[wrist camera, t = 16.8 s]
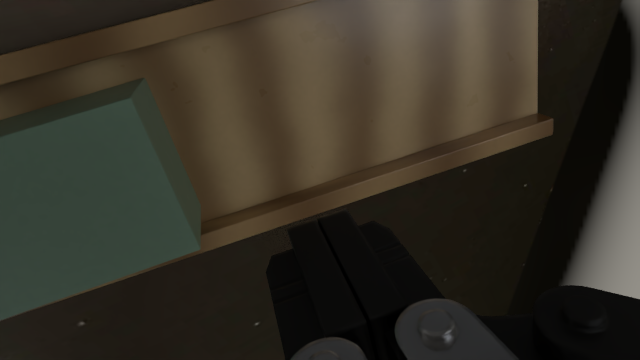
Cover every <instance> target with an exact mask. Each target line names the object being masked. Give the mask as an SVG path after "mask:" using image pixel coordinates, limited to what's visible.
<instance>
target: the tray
mask: <svg viewBox="0 0 640 360" xmlns="http://www.w3.org/2000/svg"><path fill="white" fill-rule="evenodd" d="M141 78H145V79H146V81H147V83H148V86H149V88H150V90H151V92H152V95H153V97H154V99H155V102H156V104H157V106H158V108H159V111H160V113H161V115H162V118H163V120H164V122H165V124H166V127H167V129H168V131H169V134H170V136H171V138H172V140H173V143H174V145H175V147H176V150H177V152H178V154H179V156H180V159H181V161H182V163H183V166H184V168H185V170H186V172H187V175H188V177H189V179H190V182H191V184H192V186H193V188H194V191H195V193H196V195H197V198H198V200H199V202H200V204H201V249H200V250H198V251H195V252H192V253H189V254H186V255H184V256H181V257H178V258H175V259H172V260H170V261H167V262H164V263H161V264H158V265H155V266H153V267H150V268H147V269H144V270H141V271H138V272H136V273H133V274H130V275H127V276H124V277H121V278H119V279H116V280H113V281H110V282H107V283H104V284H102V285H99V286H96V287H93V288H90V289H88V290H85V291H82V292H79V293H76V294H73V295H71V296H68V297H65V298H62V299H59V300H56V301H54V302H51V303H48V304H45V305H42V306H39V307H37V308H40V307H43V306H46V305H49V304H52V303H55V302H58V301H61V300H64V299H67V298H70V297H73V296H76V295H79V294H82V293H85V292H88V291H91V290H94V289H96V288H99V287H102V286H105V285H108V284H111V283H114V282H117V281H120V280H123V279H126V278H129V277H132V276H135V275H138V274H141V273H144V272H147V271H150V270H153V269H156V268H159V267H162V266H165V265H168V264H171V263H173V262H176V261H179V260H182V259H185V258H188V257H191V256H194V255H197V254H200V253H203V252H206V251H209V250H212V249H215V248H218V247H221V246H224V245H227V244H230V243H233V242H236V241H239V240H242V239H245V238H248V237H251V236H253V235H256V234H259V233H262V232H265V231H268V230H271V229H274V228H277V227H280V226H283V225H286V224H289V223H292V222H295V221H298V220H301V219H304V218H307V217H310V216H313V215H316V214H319V213H322V212H325V211H328V210H330V209H333V208H336V207H339V206H342V205H345V204H348V203H351V202H354V201H357V200H360V199H363V198H366V197H369V196H372V195H375V194H378V193H381V192H384V191H387V190H390V189H393V188H396V187H399V186H402V185H405V184H408V183H410V182H413V181H416V180H419V179H422V178H425V177H428V176H431V175H434V174H437V173H440V172H443V171H446V170H449V169H452V168H455V167H458V166H461V165H464V164H467V163H470V162H473V161H476V160H479V159H482V158H485V157H488V156H490V155H493V154H496V153H499V152H502V151H505V150H508V149H511V148H514V147H517V146H520V145H523V144H526V143H529V142H532V141H535V140H538V139H541V138H544V137H547V136H550V135H552V134H553V118H551V117H548V116H545V115H542V114H539V113H537V83H538V0H210V1H206V2H202V3H198V4H194V5H190V6H187V7H183V8H179V9H175V10H171V11H167V12H163V13H159V14H156V15H152V16H148V17H144V18H140V19H136V20H132V21H128V22H125V23H121V24H117V25H113V26H109V27H105V28H101V29H97V30H94V31H90V32H86V33H82V34H78V35H74V36H70V37H66V38H63V39H59V40H55V41H51V42H47V43H43V44H39V45H35V46H32V47H28V48H24V49H20V50H16V51H12V52H8V53H4V54H1V55H0V120H3V119H6V118H10V117H13V116H16V115H20V114H23V113H26V112H30V111H33V110H36V109H40V108H43V107H47V106H50V105H53V104H57V103H60V102H63V101H67V100H70V99H73V98H77V97H80V96H84V95H87V94H90V93H94V92H97V91H100V90H104V89H107V88H110V87H114V86H117V85H121V84H124V83H127V82H131V81H134V80H137V79H141ZM37 308H34V309H37ZM34 309H31V310H34ZM31 310H28V311H31ZM28 311H25V312H28ZM25 312H22V313H25ZM22 313H20V314H22ZM17 315H19V314H17ZM14 316H16V315H14ZM14 316H11V317H14ZM11 317H8V318H11ZM8 318H6V319H8ZM3 320H5V319H3ZM0 321H2V320H0Z"/></svg>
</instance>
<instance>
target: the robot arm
mask: <svg viewBox="0 0 640 360" xmlns="http://www.w3.org/2000/svg"><path fill="white" fill-rule="evenodd" d="M317 221H318V223H317ZM317 221H316V219H313V220H310V221H307V222H304V223H301V224H298V225H295V226H292V227H289V228H287V232H288V235H289V238H290V241H291V245H292V248H293V249H290V250H287V251H284V252H281V253H278V254H276V255H273V256H271V259H270V262H269V265H268V268H267V271H266V274H267V279H268V283H269V288H270V292H271V296H272V301H273V304H274V310H275V314H276V319H277V323H278V328H279V332H280V337H281V341H282V345H283V350H284V354H285V360H640V299H636V298H632V297H627V296H623V295H619V294H615V293H611V292H606V291H602V290H598V289H594V288H589V287H584V286H572V285H570V286H559V287H555V288H552V289H549V290H547V291H545V292H543V293H542V294H541V295H540V296H539V297H538V298H537V299H536V301H535V302H534V305H533V313H530V314H520V315H508V316H492V317H490V316H480V315H475V314H474V313H473V312H472V311H471V310H470V309H468V308H467V307H465V306H464V305H462V304H460V303H457V302H455V301H451V300H447V299H445V298H444V297H443V295H442V294H441V293H440V292H439V290H438V289H437V288H436V287H435V285H434V284H433V283H432V281H431V280H430V279H429V278H428V276H427V275H426V274H425V273H424V271H423V270H422V269H421V268H420V266H419V265H418V264H417V263H416V261H415V260H414V259H413V257H412V256H411V255H409V253H408V251H407V250H406V249H405V247H404V246H403V245H402V244H401V243H400V241H399V240H398V239H397V237H396V236H395V235H394V233H393V232H392V231H391V230H390V229H389V228H387V227H385V226H383V225H381V224H379V223H377V222H375V221H371V222H368V223H365V224H363V225H360V226H358V225H357V224H356V222H355V221H354V219H353V218H352V216H351V215H350V213H349V212H348V210H347V209H343V210H340V211H337V212H334V213H331V214H328V215H325V216H322V217H319V218H317Z"/></svg>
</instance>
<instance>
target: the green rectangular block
mask: <svg viewBox="0 0 640 360" xmlns="http://www.w3.org/2000/svg"><path fill="white" fill-rule="evenodd" d="M200 249H201V204H200V202H199V200H198V198H197V195H196V193H195V191H194V188H193V186H192V184H191V182H190V179H189V177H188V175H187V172H186V170H185V168H184V166H183V163H182V161H181V159H180V156H179V154H178V152H177V150H176V147H175V145H174V143H173V140H172V138H171V136H170V134H169V131H168V129H167V127H166V124H165V122H164V120H163V118H162V115H161V113H160V111H159V108H158V106H157V104H156V102H155V99H154V97H153V95H152V92H151V90H150V88H149V86H148V83H147V81H146V79H145V78H141V79H137V80H134V81H131V82H127V83H124V84H121V85H117V86H114V87H110V88H107V89H104V90H100V91H97V92H94V93H90V94H87V95H84V96H80V97H77V98H73V99H70V100H67V101H63V102H60V103H57V104H53V105H50V106H47V107H43V108H40V109H36V110H33V111H30V112H26V113H23V114H20V115H16V116H13V117H10V118H6V119H3V120H0V320H3V319H6V318H8V317H11V316H14V315H17V314H20V313H22V312H25V311H28V310H31V309H34V308H37V307H39V306H42V305H45V304H48V303H51V302H54V301H56V300H59V299H62V298H65V297H68V296H71V295H73V294H76V293H79V292H82V291H85V290H88V289H90V288H93V287H96V286H99V285H102V284H104V283H107V282H110V281H113V280H116V279H119V278H121V277H124V276H127V275H130V274H133V273H136V272H138V271H141V270H144V269H147V268H150V267H153V266H155V265H158V264H161V263H164V262H167V261H170V260H172V259H175V258H178V257H181V256H184V255H186V254H189V253H192V252H195V251H198V250H200Z"/></svg>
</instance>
